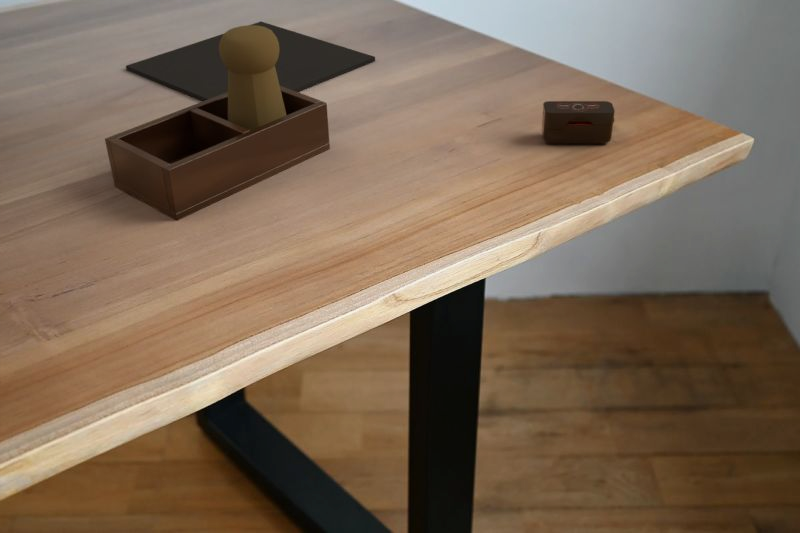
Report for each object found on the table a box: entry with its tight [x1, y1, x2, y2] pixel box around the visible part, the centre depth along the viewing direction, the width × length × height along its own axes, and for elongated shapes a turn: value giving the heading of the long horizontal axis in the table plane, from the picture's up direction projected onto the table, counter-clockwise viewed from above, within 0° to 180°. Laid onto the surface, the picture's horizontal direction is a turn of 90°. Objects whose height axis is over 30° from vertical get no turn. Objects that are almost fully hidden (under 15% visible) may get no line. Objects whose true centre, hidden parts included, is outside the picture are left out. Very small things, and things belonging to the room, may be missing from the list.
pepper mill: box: [219, 24, 286, 131], centre depth 81 cm, size 6×6×11 cm
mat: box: [125, 21, 376, 102], centre depth 103 cm, size 20×20×1 cm
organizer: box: [104, 86, 331, 221], centre depth 81 cm, size 9×17×5 cm, turn 138°
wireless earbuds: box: [540, 100, 616, 144], centre depth 85 cm, size 5×7×3 cm, turn 87°
